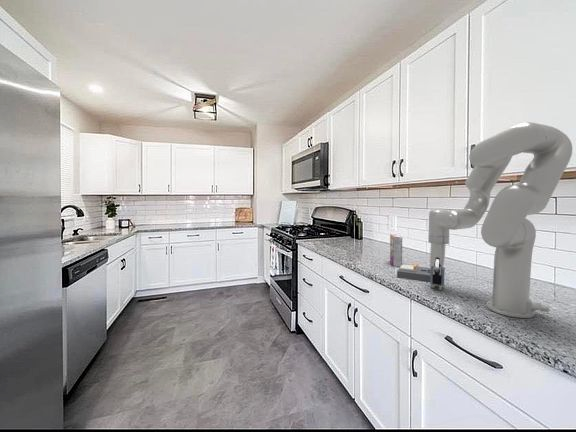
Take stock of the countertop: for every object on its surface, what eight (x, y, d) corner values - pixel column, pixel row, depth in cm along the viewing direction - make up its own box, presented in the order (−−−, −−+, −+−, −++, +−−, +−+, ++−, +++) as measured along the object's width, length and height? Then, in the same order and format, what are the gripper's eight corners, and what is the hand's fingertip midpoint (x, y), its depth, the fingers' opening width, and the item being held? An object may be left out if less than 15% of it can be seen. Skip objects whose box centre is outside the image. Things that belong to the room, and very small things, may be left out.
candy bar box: (389, 262, 160) (389, 234, 159) (398, 262, 159) (398, 234, 158) (392, 267, 149) (393, 237, 148) (402, 267, 148) (403, 237, 147)
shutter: (417, 267, 135) (417, 263, 135) (416, 271, 128) (416, 266, 128) (402, 266, 139) (402, 261, 139) (399, 269, 132) (399, 264, 132)
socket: (437, 274, 134) (437, 268, 133) (435, 282, 122) (435, 276, 122) (401, 270, 142) (402, 264, 142) (397, 277, 130) (397, 271, 130)
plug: (444, 287, 116) (444, 267, 115) (443, 290, 112) (444, 269, 111) (430, 285, 118) (431, 265, 118) (430, 288, 115) (430, 268, 114)
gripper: (429, 236, 123) (428, 275, 124) (426, 241, 108) (425, 286, 110) (449, 237, 119) (447, 277, 121) (448, 243, 104) (447, 289, 106)
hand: (437, 281), depth 115 cm, fingers open, 6 cm apart
